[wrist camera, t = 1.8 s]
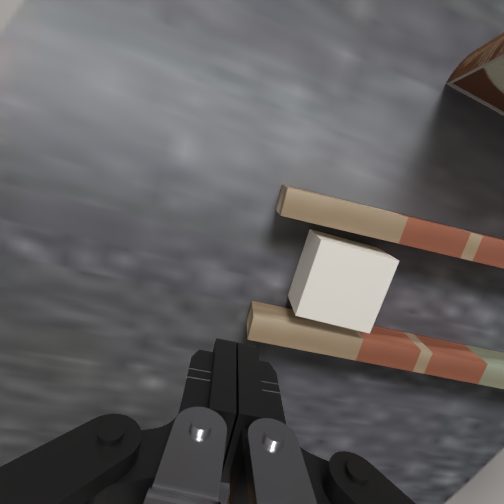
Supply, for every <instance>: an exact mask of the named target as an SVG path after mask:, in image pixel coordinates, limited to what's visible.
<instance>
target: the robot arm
mask: <svg viewBox="0 0 504 504" xmlns="http://www.w3.org/2000/svg"><path fill="white" fill-rule="evenodd" d="M221 482H225V483H230V495H229V498H228V502H227V504H415V503H414V502H413V501H412V500H411V499H410V498H409V497H407V496H406V495H405V494H404V493H403V492H402V491H401V490H400V489H398V488H397V487H396V486H395V485H394V484H393V483H392V482H391V481H389V480H388V479H387V478H386V477H385V476H384V475H383V474H382V473H380V472H379V471H378V470H377V469H376V468H375V467H374V466H373V465H371V464H370V463H369V462H368V461H367V460H365V459H364V458H362V457H360V456H358V455H356V454H354V453H351V452H345V451H343V452H337V453H335V454H334V455H333V456H332V457H331V458H330V461H329V462H328V461H326V460H324V459H322V458H319V457H317V456H315V455H313V454H311V453H309V452H307V451H305V450H304V449H302V448H301V447H300V446H299V442H298V439H297V437H296V435H295V434H294V432H293V431H292V430H291V429H290V428H289V427H288V426H287V425H286V422H285V416H284V411H283V406H282V401H281V395H280V390H279V385H278V380H277V374H276V372H275V370H274V369H273V367H272V366H271V365H270V363H269V362H263V361H259V358H258V349H257V346H254V345H249V344H244V343H238V342H237V344H236V342H233V341H228V340H222V339H216V341H215V345H214V349H213V352H209V351H204V350H198V351H197V352H196V353H195V354H194V355H193V356H192V357H191V362H190V366H189V371H188V375H187V380H186V384H185V389H184V393H183V398H182V402H181V406H180V410H179V413H178V415H177V416H176V418H175V419H174V420H173V421H171V422H170V423H169V424H167V425H165V426H163V427H159V428H155V429H148V430H141V429H140V427H139V425H138V423H137V422H136V421H135V420H133V419H132V418H130V417H128V416H125V415H121V414H107V415H103V416H99V417H97V418H95V419H92V420H91V421H89V422H87V423H85V424H83V425H81V426H79V427H77V428H75V429H73V430H71V431H69V432H67V433H65V434H63V435H61V436H59V437H58V438H56V439H54V440H52V441H50V442H48V443H46V444H44V445H42V446H40V447H38V448H36V449H34V450H32V451H30V452H28V453H27V454H25V455H23V456H21V457H19V458H17V459H15V460H13V461H11V462H9V463H7V464H5V465H3V466H1V467H0V504H221V503H220V502H218V500H219V491H220V483H221Z"/></svg>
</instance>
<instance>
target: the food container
mask: <svg viewBox="0 0 504 504" xmlns="http://www.w3.org/2000/svg"><path fill="white" fill-rule="evenodd" d="M446 84H447V85H449V86H451V87H452V88H454V89H456V90H458V91H460V92H461V93H463V94H465V95H467V96H469V97H470V98H472V99H474V100H476V101H478V102H479V103H481V104H483V105H485V106H487V107H488V108H490V109H492V110H494V111H496V112H497V113H499V114H501V115H503V116H504V33H503V34H501V35H500V36H498V37H496V38H495V39H493V40H491V41H490V42H488V43H486V44H485V45H483V46H481V47H480V48H478V49H477V50H475V51H474V52H473V53H471V54H470V55H469V56H467V57H466V58H465V59H464V60H463V61H462V62H461V63H460V64H459V65H458V67H457V68H456V69H455V70H454V72H453V73H452V74H451V76H450V78H449V79H448V81H447V83H446Z"/></svg>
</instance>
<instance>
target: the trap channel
mask: <svg viewBox="0 0 504 504" xmlns="http://www.w3.org/2000/svg"><path fill="white" fill-rule="evenodd" d="M276 211H277V212H278V213H279V214H280V216H284V217H288V218H292V219H296V220H301V221H305V222H309V223H313V224H318V225H322V226H326V227H330V228H335V229H339V230H343V231H347V232H351V233H356V234H360V235H364V236H368V237H373V238H377V239H381V240H385V241H390V242H394V243H398V244H402V245H406V246H411V247H415V248H419V249H423V250H428V251H432V252H436V253H440V254H445V255H449V256H453V257H457V258H461V259H466V260H470V261H474V262H478V263H483V264H487V265H491V266H495V267H500V268H504V239H501V238H497V237H493V236H489V235H485V234H481V233H477V232H473V231H469V230H464V229H460V228H456V227H452V226H448V225H444V224H440V223H436V222H432V221H428V220H424V219H420V218H416V217H412V216H408V215H404V214H400V213H396V212H392V211H387V210H383V209H379V208H375V207H371V206H367V205H363V204H359V203H355V202H351V201H347V200H343V199H339V198H335V197H331V196H327V195H323V194H319V193H315V192H310V191H306V190H302V189H298V188H294V187H290V186H286V185H282V187H281V191H280V195H279V199H278V203H277V206H276ZM246 323H247V339H248V340H252V341H257V342H262V343H268V344H273V345H278V346H283V347H288V348H293V349H299V350H304V351H309V352H314V353H319V354H324V355H330V356H335V357H340V358H345V359H350V360H355V361H361V362H366V363H371V364H376V365H381V366H386V367H392V368H397V369H402V370H407V371H412V372H417V373H423V374H428V375H433V376H438V377H443V378H448V379H454V380H459V381H464V382H469V383H474V384H479V385H485V386H490V387H495V388H500V389H504V353H503V352H498V351H493V350H488V349H483V348H478V347H473V346H469V345H464V344H459V343H454V342H449V341H444V340H440V339H435V338H430V337H425V336H420V335H415V334H411V333H406V332H401V331H396V330H391V329H386V328H381V327H377V326H373V327H372V329H371V332H370V333H365V332H361V331H357V330H353V329H349V328H345V327H340V326H336V325H332V324H328V323H324V322H320V321H315V320H311V319H307V318H303V317H299V316H295V313H294V311H293V309H289V308H285V307H280V306H275V305H270V304H265V303H260V302H256V301H252V302H251V306H250V310H249V314H248V317H247V321H246Z"/></svg>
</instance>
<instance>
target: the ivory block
mask: <svg viewBox="0 0 504 504" xmlns="http://www.w3.org/2000/svg"><path fill="white" fill-rule="evenodd" d="M398 263H399V260H397V259H396V258H394V257H392V256H391V255H389V254H388V253H386V252H384V251H383V250H381V249H379V248H378V247H374V246H370V245H367V244H363V243H359V242H356V241H352V240H348V239H345V238H341V237H337V236H334V235H330V234H326V233H323V232H319V231H315V230H312V229H310V230H309V233H308V236H307V239H306V242H305V245H304V248H303V251H302V254H301V257H300V260H299V263H298V266H297V269H296V272H295V275H294V278H293V281H292V284H291V287H290V290H289V293H288V297H289V300H290V303H291V305H292V308H293V311H294V313H295V316H299V317H303V318H307V319H311V320H315V321H320V322H324V323H328V324H332V325H336V326H340V327H345V328H349V329H353V330H357V331H361V332H365V333H370V332H371V329H372V327H373V324H374V322H375V320H376V317H377V315H378V312H379V310H380V307H381V305H382V302H383V300H384V298H385V295H386V293H387V290H388V288H389V285H390V283H391V280H392V278H393V276H394V273H395V271H396V268H397V266H398Z"/></svg>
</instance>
